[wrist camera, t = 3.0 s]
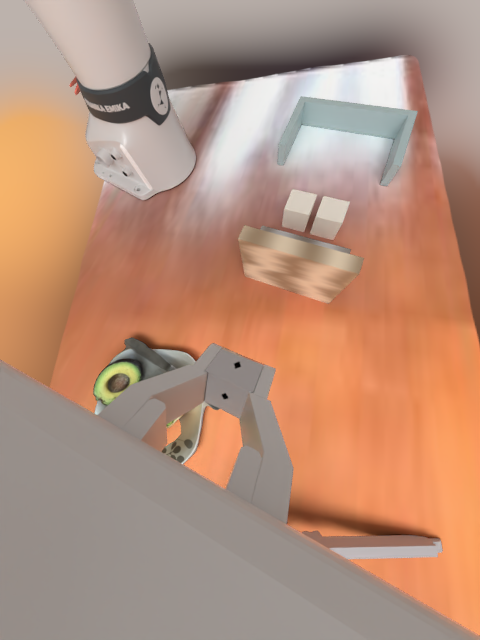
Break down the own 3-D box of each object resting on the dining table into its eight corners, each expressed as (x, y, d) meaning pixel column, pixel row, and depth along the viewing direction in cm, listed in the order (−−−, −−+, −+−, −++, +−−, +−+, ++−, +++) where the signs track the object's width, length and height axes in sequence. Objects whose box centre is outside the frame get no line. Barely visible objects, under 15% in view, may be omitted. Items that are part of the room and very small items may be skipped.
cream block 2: (309, 234, 33) (315, 216, 30) (316, 215, 34) (323, 196, 30) (332, 240, 33) (342, 223, 29) (339, 221, 33) (349, 201, 29)
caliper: (260, 524, 25) (259, 575, 19) (260, 513, 25) (259, 561, 19) (439, 547, 22) (505, 614, 16) (437, 535, 23) (501, 597, 16)
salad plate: (231, 347, 31) (225, 343, 26) (217, 478, 26) (208, 500, 22) (119, 337, 33) (97, 332, 29) (91, 455, 29) (60, 471, 25)
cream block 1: (281, 226, 34) (284, 209, 30) (289, 208, 35) (292, 189, 31) (303, 232, 34) (309, 215, 30) (311, 214, 34) (317, 194, 30)
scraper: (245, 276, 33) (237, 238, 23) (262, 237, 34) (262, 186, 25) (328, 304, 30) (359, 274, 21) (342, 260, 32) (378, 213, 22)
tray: (277, 164, 38) (278, 144, 34) (297, 119, 40) (300, 96, 36) (387, 186, 34) (401, 166, 30) (403, 135, 36) (417, 111, 33)
